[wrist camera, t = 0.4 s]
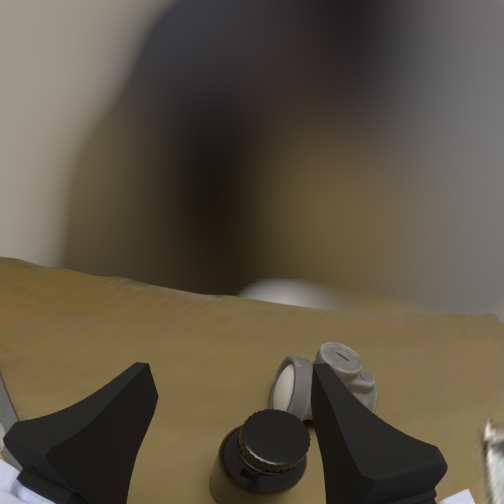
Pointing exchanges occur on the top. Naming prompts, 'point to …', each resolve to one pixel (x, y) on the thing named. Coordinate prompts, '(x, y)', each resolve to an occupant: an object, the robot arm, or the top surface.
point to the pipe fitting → (300, 380)
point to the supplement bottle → (260, 459)
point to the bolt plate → (6, 421)
